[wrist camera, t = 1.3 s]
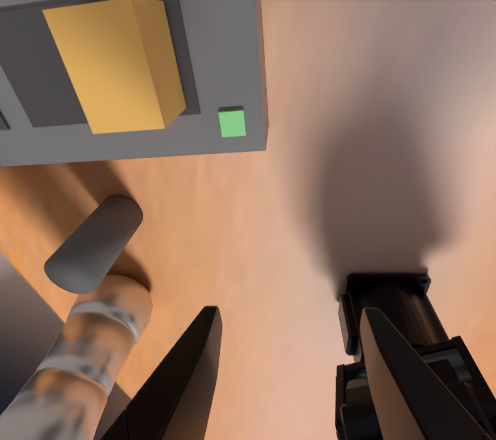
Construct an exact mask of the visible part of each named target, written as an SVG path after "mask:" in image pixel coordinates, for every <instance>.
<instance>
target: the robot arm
mask: <svg viewBox="0 0 496 440" xmlns="http://www.w3.org/2000/svg"><path fill="white" fill-rule="evenodd" d="M353 279H354V280H353ZM430 283H431V279H430V277H429V276H428V275H427V274H350V275H348V276H347V278H346V284H345V292H344V294H342V295H341V296H340V303H339V311H338V315H339V320H340V326H341V331H342V336H343V342H344V347H345V352H346V353H347V354H348V355H351V356H353V357H354V362H355V363H352V364H348V365H344V364H342V365H338V366H337V376H336V407H335V427H336V430H337V432H336V433H337V438H338V440H496V399H495V397H494V396H493V394H492V392H491V390H490V388H489V387H488V385H487V383H486V381H485V379H484V378H483V376H482V374H481V372H480V370H479V369H478V367H477V365H476V363H475V362H474V360H473V358H472V356H471V354H470V353H469V351H468V349H467V347H466V345H465V344H464V342H463V340H462V338H461V336H456V337H452V339H450V340H449V338H448V336H447V334H446V332H445V330H444V328H443V326H442V324H441V322H440V320H439V318H438V316H437V314H436V312H435V310H434V308H433V306H432V304H431V302H430V301H429V299H428V297H427V295H426V294H427V291H428V288H429V285H430ZM221 337H222V319H221V315H220V311H219V308H218V307H217V306H205V307H204V308H203V309H202V310H201V312H200V313H199V314H198V315H197V317H196V318H195V319H194V321H193V322H192V323H191V324H190V326H189V327H188V328H187V330H186V331H185V332H184V333H183V335H182V336H181V337H180V339H179V340H178V341H177V342H176V344H175V345H174V346H173V347H172V349H171V350H170V351H169V353H168V354H167V355H166V356H165V358H164V359H163V360H162V362H161V363H160V364H159V365H158V367H157V368H156V369H155V371H154V372H153V373H152V374H151V376H150V377H149V378H148V380H147V381H146V382H145V383H144V385H143V386H142V387H141V389H140V390H139V391H138V392H137V394H136V395H135V396H134V397H133V399H132V400H131V401H130V403H129V404H128V405H127V407H126V410H123V412H122V413H121V414H120V415H119V417H118V418H117V419H116V420H115V422H114V423H113V424H112V425H111V427H110V428H109V429H108V430H107V432H106V433H105V434H104V435H103V436H102V438H101V439H100V440H204V437H205V432H206V428H207V423H208V418H209V414H210V409H211V404H212V400H213V395H214V391H215V386H216V381H217V374H218V366H219V356H220V346H221Z"/></svg>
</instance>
